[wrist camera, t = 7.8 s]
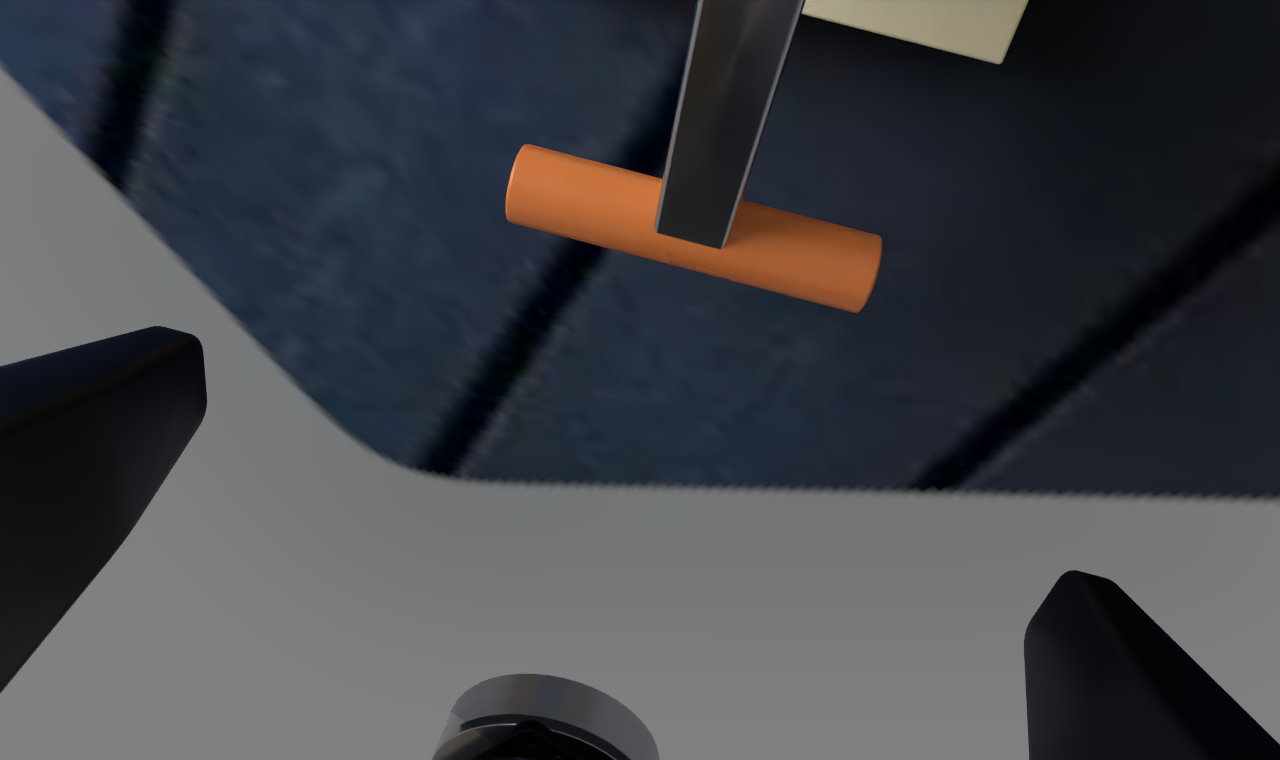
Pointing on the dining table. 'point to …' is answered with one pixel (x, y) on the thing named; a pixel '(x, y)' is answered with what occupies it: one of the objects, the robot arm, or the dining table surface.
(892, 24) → the bracket
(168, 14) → the dining table surface
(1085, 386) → the dining table surface
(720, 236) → the lever
